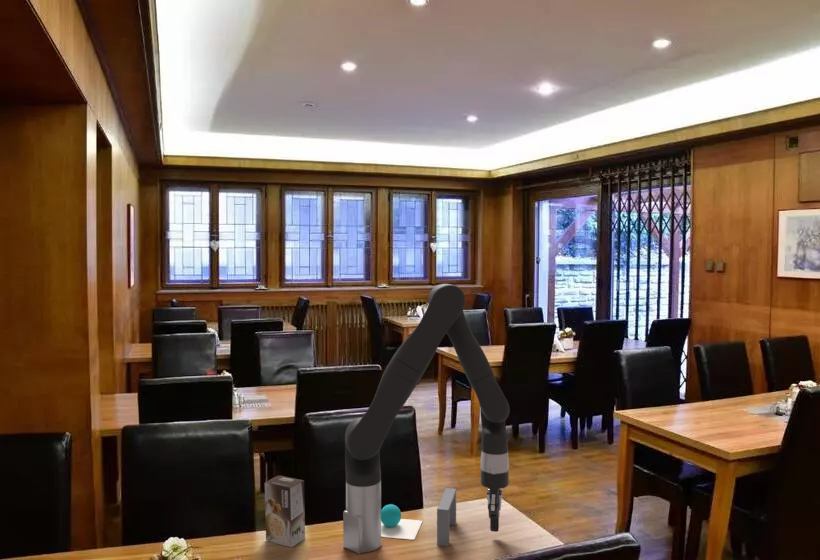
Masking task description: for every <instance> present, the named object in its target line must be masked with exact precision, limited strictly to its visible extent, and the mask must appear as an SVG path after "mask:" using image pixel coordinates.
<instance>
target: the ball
mask: <svg viewBox="0 0 820 560" xmlns="http://www.w3.org/2000/svg"><path fill="white" fill-rule="evenodd" d="M401 519H402V511H401V510H400V508H399V507H398V506H397V505H395V504H393V503H390V504H386V505H384V506H383V508H382V507H381V522H382V523H383V524H384V525H385V526H387V527H394V526H396V525H397V524H398V523H399V522H400V520H401Z"/></svg>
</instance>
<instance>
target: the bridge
mask: <svg viewBox="0 0 820 560" xmlns="http://www.w3.org/2000/svg"><path fill="white" fill-rule="evenodd" d="M456 524H457V488H451V487H450V488H449V487H446V488H445V489H444V491H443V494H442V496H441V499H440V501H439V504H438V506H437V508H436V525H437V526H436V546H443V547H449V545H450V525H452V526H456Z"/></svg>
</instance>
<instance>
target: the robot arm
mask: <svg viewBox="0 0 820 560" xmlns="http://www.w3.org/2000/svg"><path fill="white" fill-rule="evenodd" d="M428 294H429V295H428V299H427V303H428V306H427V308H426V310H425V311H424V313H423V316H422V318H421V319H420V321H419V322H418V324H417V326H416V327H415V329H414V330H413V331H412V332H411V333H410V334H409V335H408V336H407V338H406V339H404V341H403V342H402V343H401V345H400V346H399V347H398V348H397V350H396V351H395V353H394V354H393V356H392V357H391V359H390V360H389V362H388V364H387V366H386V367H385V369H384V371H383V374H382V376H381V379H380V381H379V383H378V385H377V389H376V392H375V395H374V398H373V399H372V402H371V404H370V405H369V407H368V408H367V410H366V411H365V413H364V414H363V416H361V417H357V418H354V419H353V420H351V422H349V423H348V425H347V427H346V429H345V431H344V432H345V433H344V457H345V458H344V462H345V464H344V465H345V510H344V511H343V513H342V517H343V522H342V523H343V525H342V529H343V533H342V534H343V535H342V536H343V543H342V545H343V547H344V548H345V549H348V550H349V551H352V552H354V553H356V554H359V555H360V554H363V553H369V552H373V551H376V550H377V549H378V550H379V548H381V546H382V537H381V510H382V468H381V459H380V450H381V448H382V446H383V445H384V444H383V443H384V442H385V439H386V438H387V435H388V433H389V431H390V428H391V427H392V425H393V423H394V420H395V419H396V417H397V416H398V414H399V412H400V411H401V410H402V409H403V407H404V405H405V404H406V402H407V401H408V400H409V398H410V396H411V395H412V393H413V392H414V390H415V388H416V387H417V385H418V384H419V382H420V380H422V376H423V375H424V374H425V373H426V370H427V368H428V367H429V365H430V363H431V361H432V359H433V358H434V356H435V354H436V352H437V350H438V347H439V346H440V344H441V342H442V340H443V339H444V337H445V336H446V335H447V337H448V338H449V340H450V342H451V344H452V347H453V348H454V351H455V353H456V356H457V358H458V361H459V363H460V366H461V367H462V370H463V371H464V374H465V376H466V378H467V380H468V382H469V385H470V386H471V388H472V389H473V391H474V393H475V396H476V398H477V400H478V403H479V404H480V405H479V406H480V408H479V409H480V410H479V411H480V421H481V422H480V423H481V432H482V433H481V454H480V484H481V486H483V487H485V488H487V492H486V500H487V510H488V518H489V520H490V521H489V523H490V524H489V528H490V531H491V532H495V533H496V532H499V528H500V515H501V512H500V511H501V508H502V497H503V490H502V489H505V488H507V487H509V484H510V483H509V482H510V481H509V479H510V474H509V472H510V462H509V461H510V460H509V458H510V457H509V439H508V436H509V435H508V432H507V428H506V420H507V419H508V418H509V415H510V404H509V402H508V399H507V398H506V396H505V394H504V392H503V391H502V389H501V386H500V385H499V383H498V381H497V380H496V379H497V378H496V376H495V374H494V371H493V369H492V366H491V364H490V362H489V360H488V358H487V356H486V353H485V352H484V350H483V349H482V347H481V345H480V344H479V342H478V340H477V339H476V337H475V336H474V333H473V332H472V330H471V328H470V326H469V323H468V322H467V319H466V316H465V313H464V309H465V307H466V296H465V295H466V294H465V293H464V292H463V289H461V288H460V287H459V286H458V285H456V284H452V283H451V284H450V283H441V284H438V285H435V286H434V287H433V288H432V289H431V291H429V293H428Z"/></svg>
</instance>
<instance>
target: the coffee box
mask: <svg viewBox="0 0 820 560" xmlns="http://www.w3.org/2000/svg"><path fill="white" fill-rule="evenodd" d="M264 507H265V508H264V512H265V516H264V517H265V540H268V541H267V542H269V541H271V542H270V543H273V542H274V544H278V545H282V546H284V547H289V548H293V547H294V546H296V545H298V544H299V543H301V542H302V541H304V540H305V539H306V521H305V520H306V519H305V518H306V515H305V513H306V512H305V480H303V479H298V478H294V477H288V476H284V475H277V476H275V477H272V478H270V479H269V480H267V481H265V482H264Z"/></svg>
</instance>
